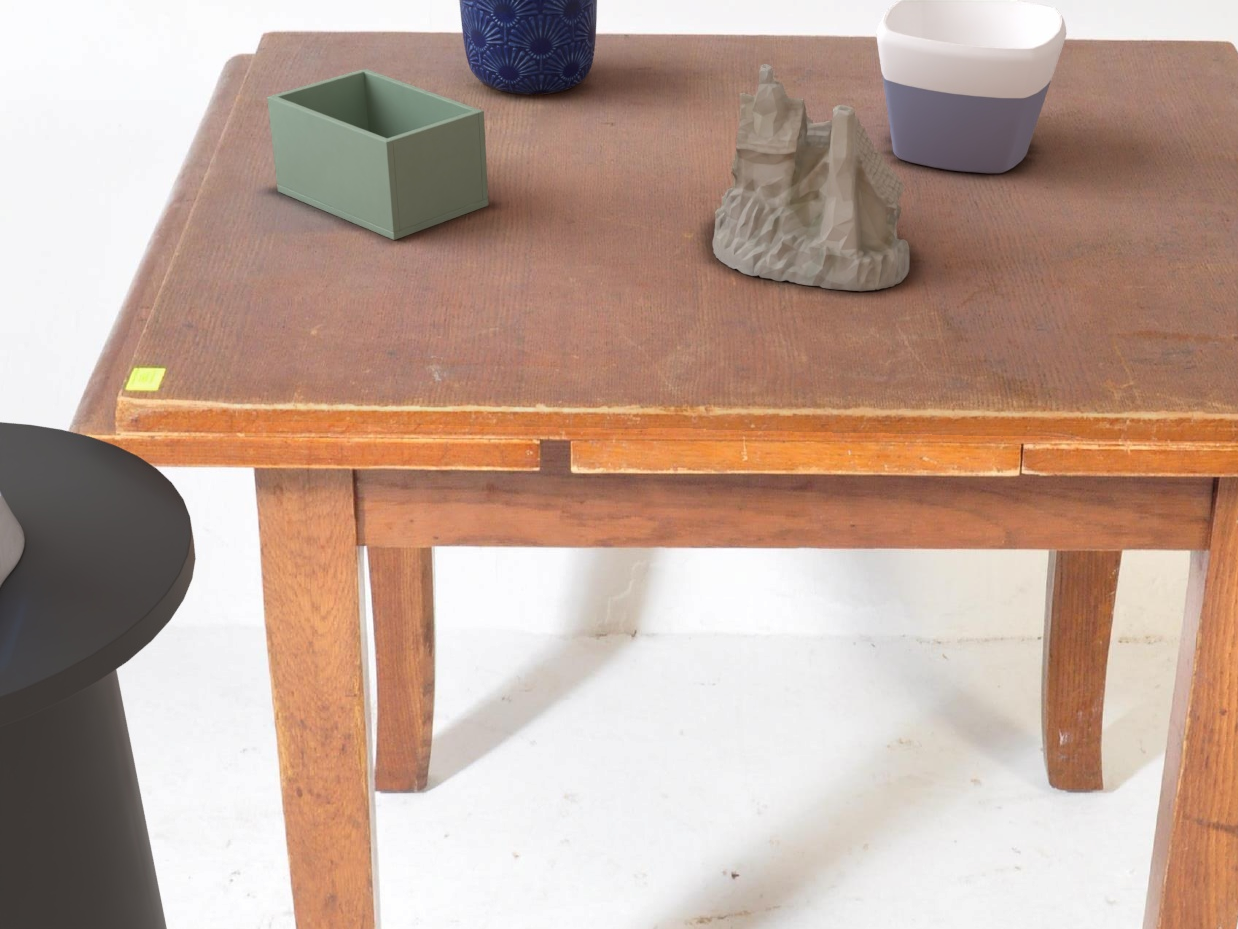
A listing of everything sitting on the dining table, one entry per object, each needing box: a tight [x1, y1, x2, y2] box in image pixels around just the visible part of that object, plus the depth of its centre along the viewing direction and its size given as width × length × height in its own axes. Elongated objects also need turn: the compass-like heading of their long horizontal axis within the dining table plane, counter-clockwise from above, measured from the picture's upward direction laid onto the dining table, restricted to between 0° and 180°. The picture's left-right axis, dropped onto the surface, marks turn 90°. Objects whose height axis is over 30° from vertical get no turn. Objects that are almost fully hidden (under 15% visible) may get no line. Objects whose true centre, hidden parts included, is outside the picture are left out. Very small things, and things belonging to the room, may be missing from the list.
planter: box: [458, 0, 598, 95], centre depth 171 cm, size 12×12×11 cm
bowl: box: [875, 0, 1067, 174], centre depth 161 cm, size 15×15×11 cm
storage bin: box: [266, 68, 489, 241], centre depth 147 cm, size 10×14×8 cm
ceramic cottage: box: [711, 63, 911, 292], centre depth 142 cm, size 16×16×15 cm
